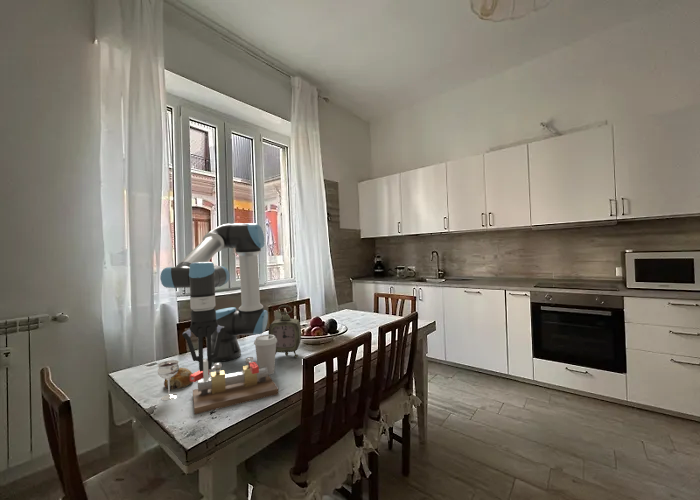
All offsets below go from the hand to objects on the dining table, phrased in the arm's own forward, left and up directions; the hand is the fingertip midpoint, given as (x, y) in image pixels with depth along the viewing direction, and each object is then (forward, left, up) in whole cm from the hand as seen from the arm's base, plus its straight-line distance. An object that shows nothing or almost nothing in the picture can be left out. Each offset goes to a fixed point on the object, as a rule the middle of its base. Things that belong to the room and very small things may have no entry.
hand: (205, 379), depth 104 cm
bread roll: (-26, -8, -10) cm, 29 cm away
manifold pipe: (-7, +10, -7) cm, 14 cm away
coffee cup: (-19, +24, -10) cm, 32 cm away
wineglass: (-15, -11, -10) cm, 21 cm away
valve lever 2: (-2, +15, 0) cm, 16 cm away
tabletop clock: (-34, +37, -10) cm, 52 cm away
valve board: (-5, +10, -9) cm, 14 cm away
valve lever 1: (-4, +1, 0) cm, 4 cm away
